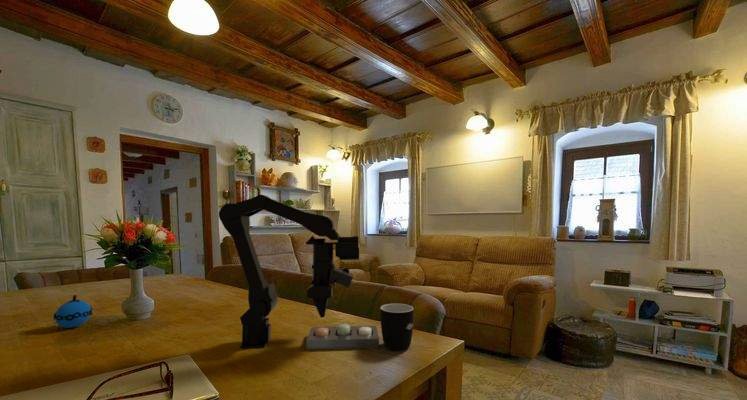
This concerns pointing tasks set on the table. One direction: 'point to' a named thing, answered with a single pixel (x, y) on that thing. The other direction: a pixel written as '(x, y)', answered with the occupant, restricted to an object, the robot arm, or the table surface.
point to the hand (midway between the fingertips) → (322, 317)
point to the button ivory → (365, 331)
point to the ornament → (72, 313)
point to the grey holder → (342, 339)
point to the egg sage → (343, 329)
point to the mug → (397, 326)
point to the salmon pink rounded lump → (321, 332)
